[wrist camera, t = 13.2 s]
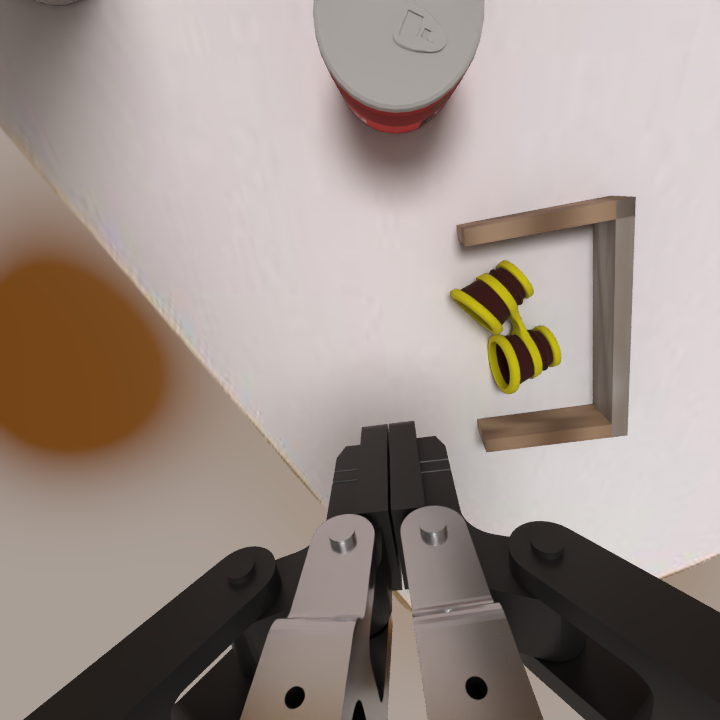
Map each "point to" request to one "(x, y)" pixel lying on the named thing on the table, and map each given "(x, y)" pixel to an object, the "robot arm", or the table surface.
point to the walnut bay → (608, 323)
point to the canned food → (397, 55)
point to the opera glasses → (523, 347)
